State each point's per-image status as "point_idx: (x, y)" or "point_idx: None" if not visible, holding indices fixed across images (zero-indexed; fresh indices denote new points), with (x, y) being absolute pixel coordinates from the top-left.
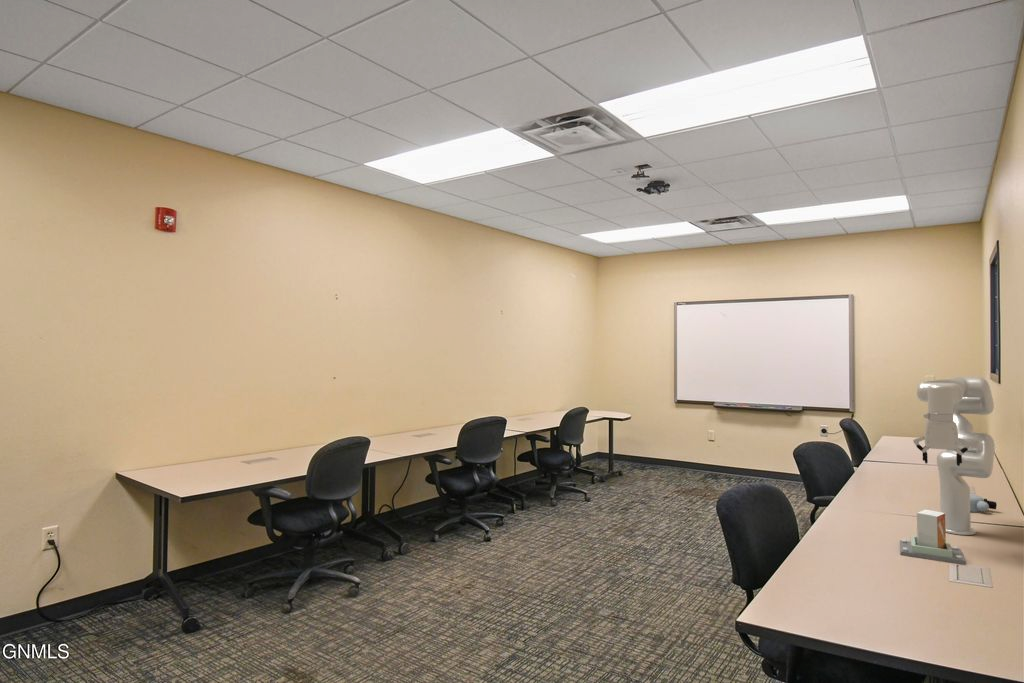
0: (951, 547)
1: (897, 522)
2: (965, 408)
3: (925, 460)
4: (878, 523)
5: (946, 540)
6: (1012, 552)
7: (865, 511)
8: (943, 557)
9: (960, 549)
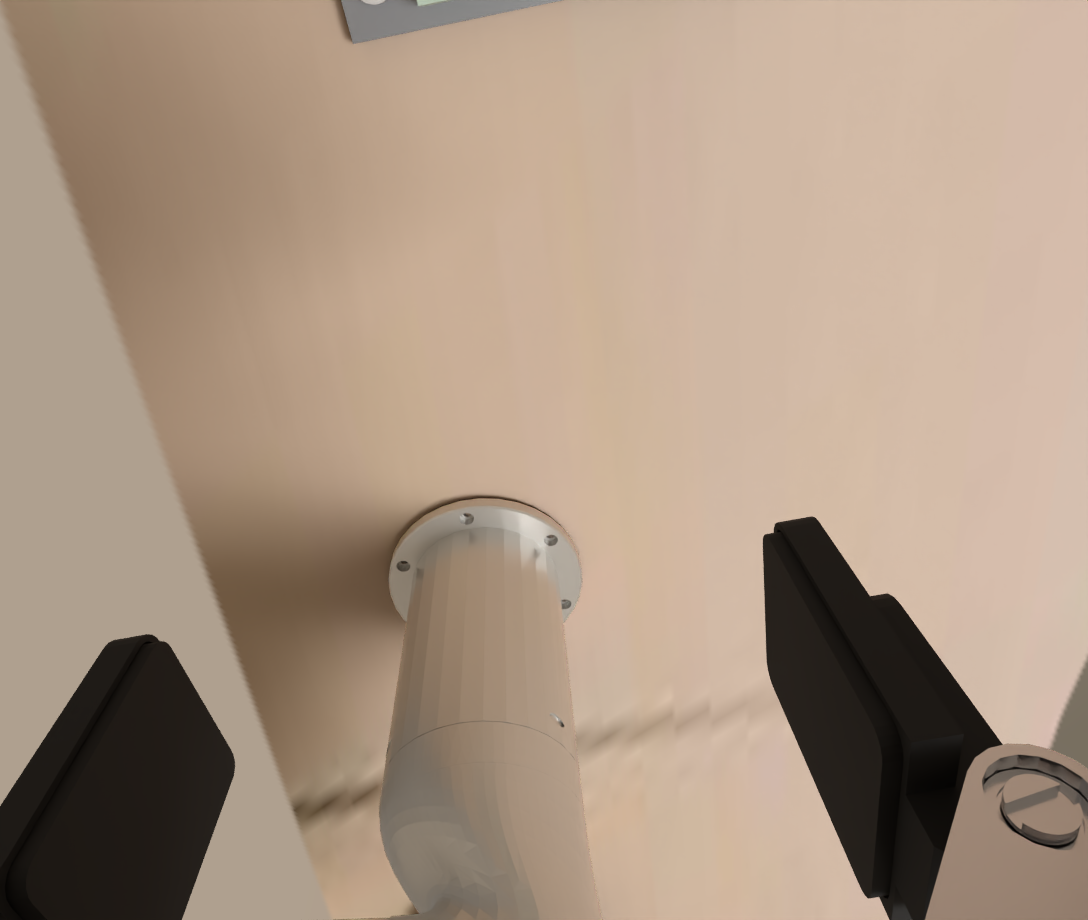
0: (410, 27)
1: None
2: None
3: (836, 554)
4: (882, 454)
5: (435, 2)
6: (126, 309)
7: None
8: None
9: (346, 11)
